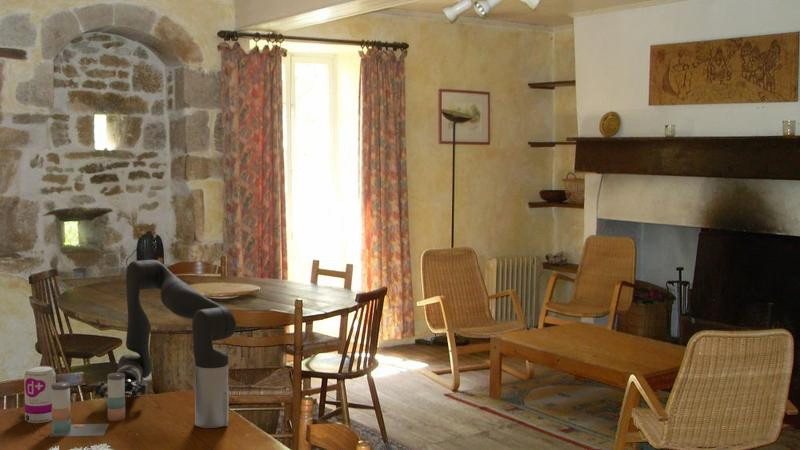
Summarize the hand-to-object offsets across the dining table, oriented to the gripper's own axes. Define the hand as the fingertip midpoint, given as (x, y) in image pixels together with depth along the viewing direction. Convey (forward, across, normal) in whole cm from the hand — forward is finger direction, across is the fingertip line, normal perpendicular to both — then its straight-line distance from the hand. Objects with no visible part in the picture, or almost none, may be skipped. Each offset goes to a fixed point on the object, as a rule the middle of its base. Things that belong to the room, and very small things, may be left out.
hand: (117, 394), depth 263 cm
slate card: (+12, -8, +7) cm, 16 cm away
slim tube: (+2, 0, +7) cm, 7 cm away
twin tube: (+14, -12, +6) cm, 20 cm away
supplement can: (+1, -21, +7) cm, 22 cm away
